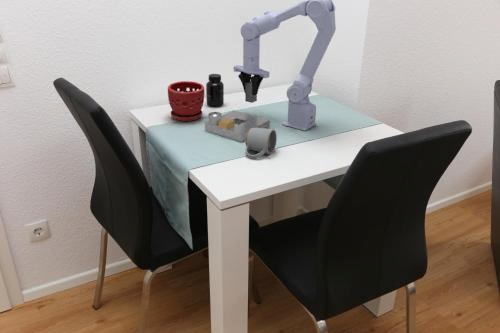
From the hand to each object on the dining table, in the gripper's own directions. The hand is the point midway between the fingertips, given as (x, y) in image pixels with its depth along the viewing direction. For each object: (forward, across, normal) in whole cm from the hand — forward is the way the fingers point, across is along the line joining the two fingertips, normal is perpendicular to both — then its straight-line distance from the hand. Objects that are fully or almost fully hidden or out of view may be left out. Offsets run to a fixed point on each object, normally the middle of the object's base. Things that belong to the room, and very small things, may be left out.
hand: (250, 93), depth 172 cm
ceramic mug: (+9, -21, +24) cm, 33 cm away
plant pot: (+9, +18, +15) cm, 25 cm away
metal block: (+3, 0, 0) cm, 3 cm away
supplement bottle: (+9, +19, -2) cm, 21 cm away
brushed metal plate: (+9, -4, +13) cm, 16 cm away
